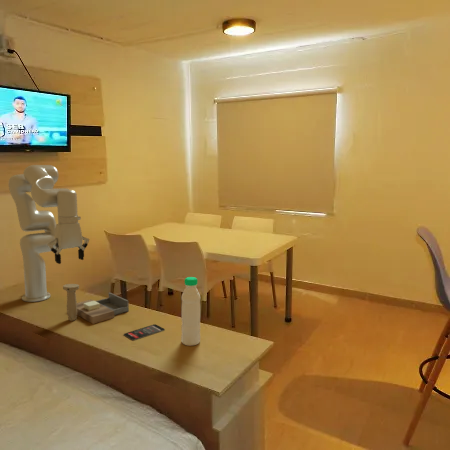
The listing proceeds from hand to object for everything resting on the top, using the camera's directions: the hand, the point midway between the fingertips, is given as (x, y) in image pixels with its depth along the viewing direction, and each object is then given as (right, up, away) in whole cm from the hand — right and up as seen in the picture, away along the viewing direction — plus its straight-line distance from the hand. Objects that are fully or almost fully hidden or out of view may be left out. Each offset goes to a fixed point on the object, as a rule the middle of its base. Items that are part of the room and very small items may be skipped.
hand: (70, 261), depth 171 cm
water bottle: (+51, -29, -15) cm, 61 cm away
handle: (0, -25, +4) cm, 26 cm away
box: (+12, -23, +17) cm, 31 cm away
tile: (+6, -21, +10) cm, 24 cm away
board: (+6, -24, +11) cm, 27 cm away
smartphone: (+32, -28, -7) cm, 43 cm away
